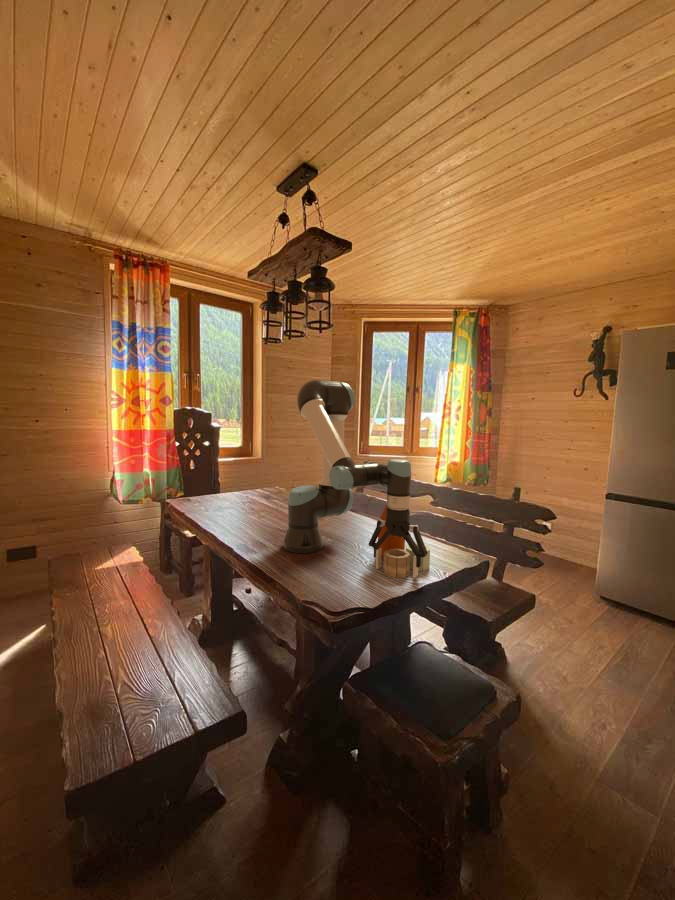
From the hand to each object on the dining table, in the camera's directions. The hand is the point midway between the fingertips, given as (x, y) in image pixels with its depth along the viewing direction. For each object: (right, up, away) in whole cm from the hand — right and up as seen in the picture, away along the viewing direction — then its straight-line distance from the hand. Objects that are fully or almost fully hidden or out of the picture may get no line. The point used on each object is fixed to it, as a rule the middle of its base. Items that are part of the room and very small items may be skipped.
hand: (396, 571), depth 122 cm
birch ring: (0, 0, 0) cm, 0 cm away
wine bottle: (0, +1, +14) cm, 14 cm away
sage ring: (+8, 0, +6) cm, 10 cm away
